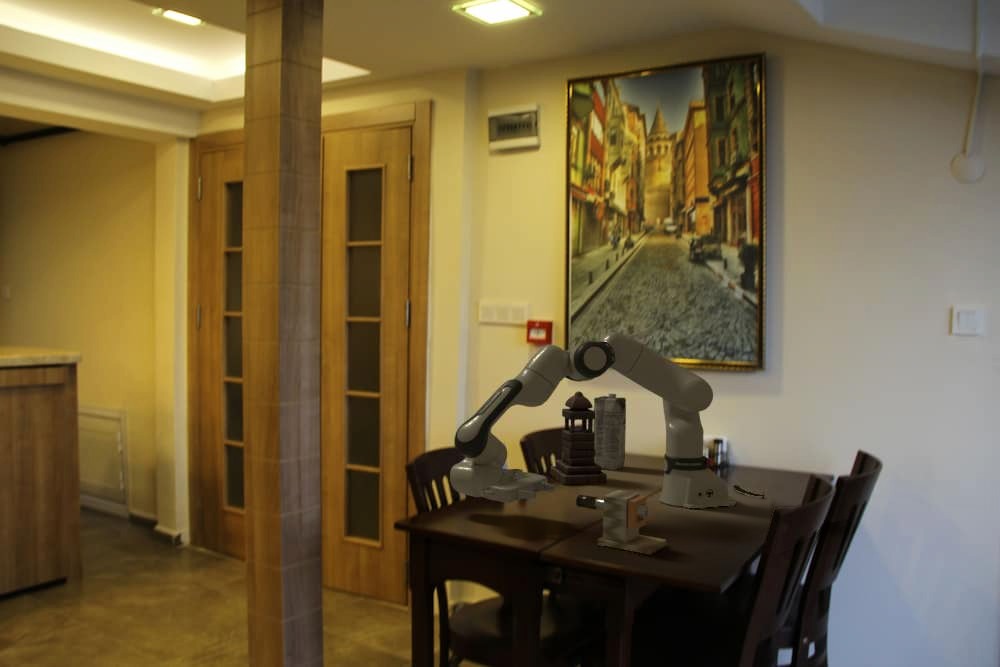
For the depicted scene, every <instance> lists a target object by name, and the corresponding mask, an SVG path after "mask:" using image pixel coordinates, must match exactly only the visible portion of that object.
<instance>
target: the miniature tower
mask: <svg viewBox="0 0 1000 667" xmlns="http://www.w3.org/2000/svg"><path fill="white" fill-rule="evenodd" d="M564 406H565V407H568V408H562V409H561V413H562V414H561V417H562V418H564V429H561V439H562V440H561V441H562V443H561V445H562V451H561V452H562V454H561V457H562V458H561V459H556V460H555V465H554V466H553V465H551V466H550V468H549V469H550V470H549V471H550V472H549V473H550V476H551V475H552V478H554V479H555V480H557V481H558V482H560V483H561V484H562V485H563V486H576V485H575V484H584V485H596V484H595V483H598V484H599V483H605V484H607V482H608V481H607V479H608V478H607V477H608V475H607V474H606V473H605V472H603V471H602V469H601V466H600V465H598V464H596V463H595V458H594V457H595V451H596V450H595V442H594V440H595V433H594V432H593V422H594V419H595V411H594V409H593V408H594V405H593V404H592V403H591V401H590V400H589V398H587V397H586V396H585V395H584V394H583V392H582V391H580V390H579V391H576V392H575V393H574V395H572V396H570V397H569V398H568V399H567V400H566V401H565V404H564ZM577 420H579V421H581V428H579V429H578V428H577V429H576V428H575V427H576V426H575V424H576V423H575V422H576V421H577ZM572 484H573V485H572Z"/></svg>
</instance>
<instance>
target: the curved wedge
mask: <svg viewBox="0 0 1000 667" xmlns="http://www.w3.org/2000/svg"><path fill="white" fill-rule="evenodd" d="M732 486H733V487H734V488H735V489H736V490H738V491H741V492H743V493H747V494H750V495H754V496H764V497H765V495H759V494H754V493H751V492H747V491H745V490H743V489H741V488H740V487H741V486H739V485H736V484H734V485H732ZM733 487H732V488H733Z"/></svg>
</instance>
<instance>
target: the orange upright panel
mask: <svg viewBox="0 0 1000 667" xmlns="http://www.w3.org/2000/svg"><path fill="white" fill-rule="evenodd" d="M640 505H643V506H647V496H645V495H640V496H639V497H636V498H634V499H632V500H630V501H629V505H628V530H633V531H634V530H636V529H638V528H639V529H640V528H641V527H644V526H646V525H647V517H646V518H644V517H639V516H638V519H637V507H638V506H640Z"/></svg>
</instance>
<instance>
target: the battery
mask: <svg viewBox="0 0 1000 667" xmlns="http://www.w3.org/2000/svg"><path fill="white" fill-rule="evenodd" d="M626 401H627V399H626V397H617V394H616V393H608V395H607V396H606V395H603V396H598V397H595V398H594V399H593V411H595V419H593V432H594V433H595V440H594V442H595V450H596V451H595V457H594V458H595V463H596V464H598V465H600V466H601V468H605V469H604V470H606V469H612V470H611V471H614V470H615V471H617V470H616V469H618V468H620V469H622V468H621V467H623V468H624V465H625V459H626V435H627V434H626V426H627V425H626V424H627V423H626V422H627V404H626ZM618 470H619V469H618Z"/></svg>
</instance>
